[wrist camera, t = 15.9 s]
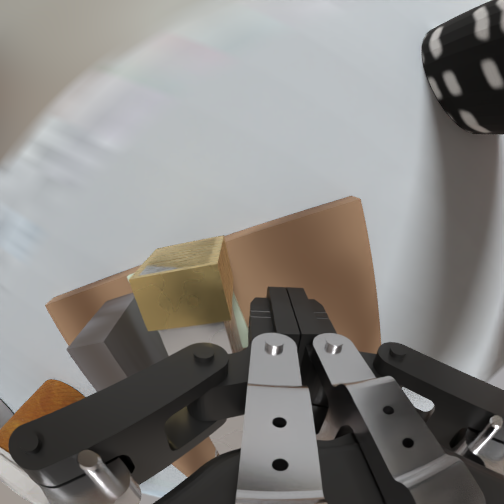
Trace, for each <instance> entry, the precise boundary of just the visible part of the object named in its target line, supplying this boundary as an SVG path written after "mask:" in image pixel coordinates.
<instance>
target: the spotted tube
mask: <svg viewBox="0 0 504 504" xmlns="http://www.w3.org/2000/svg"><path fill="white" fill-rule="evenodd" d="M422 58H423V64H424V68H425V71H426V75H427V78H428V80H429V83H430V85H431V87H432V90H433V91H434V93H435V95H436V97H437V99H438V101H439V102H440V104H441V105H442V107H443V108H444V110H445V111H446V112H447V114H448V115H449V116H450V117H451V119H452V120H453V121H455V122H456V123H457V124H458V125H459V126H460V127H461V128H463V129H464V130H466V131H468V132H471V133H473V134H504V0H492V1H489V2H487V3H485V4H482V5H480V6H478V7H476V8H473V9H471V10H469V11H467V12H465V13H463V14H461V15H459V16H457V17H455V18H453V19H451V20H449V21H447V22H445V23H443V24H441V25H439V26H437V27H436V28H434V29H432V30H430V31H429V32H428V33H427V34H426V36H425V37H424V40H423V44H422Z"/></svg>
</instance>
